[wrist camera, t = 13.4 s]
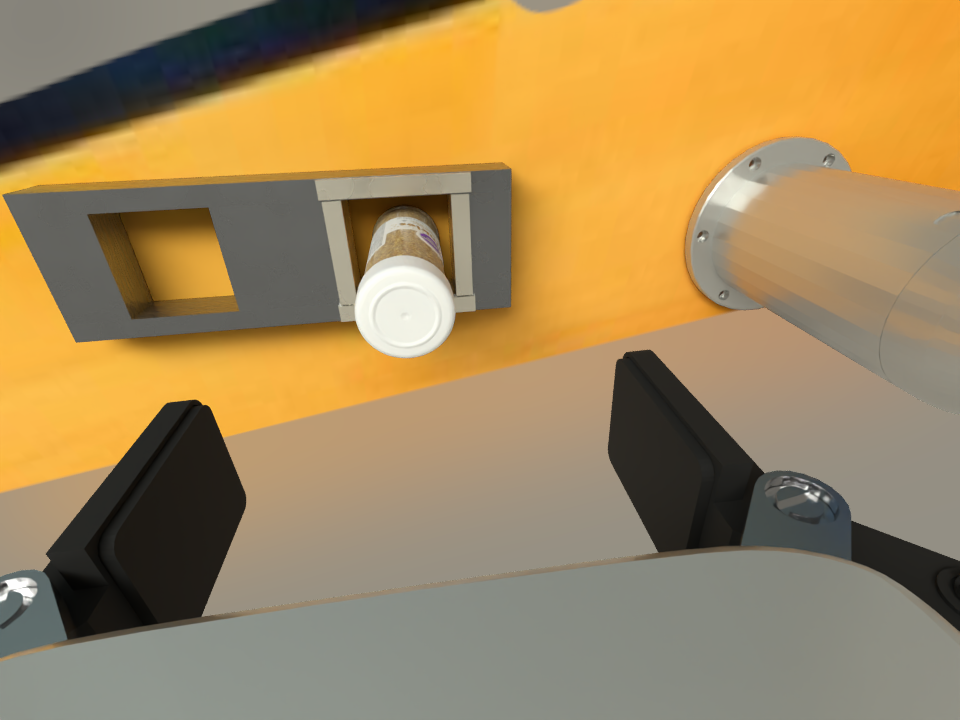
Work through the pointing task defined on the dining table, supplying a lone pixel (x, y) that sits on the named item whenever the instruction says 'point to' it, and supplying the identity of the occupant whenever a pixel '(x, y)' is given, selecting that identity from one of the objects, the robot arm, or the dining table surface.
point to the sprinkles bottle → (405, 286)
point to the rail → (255, 245)
